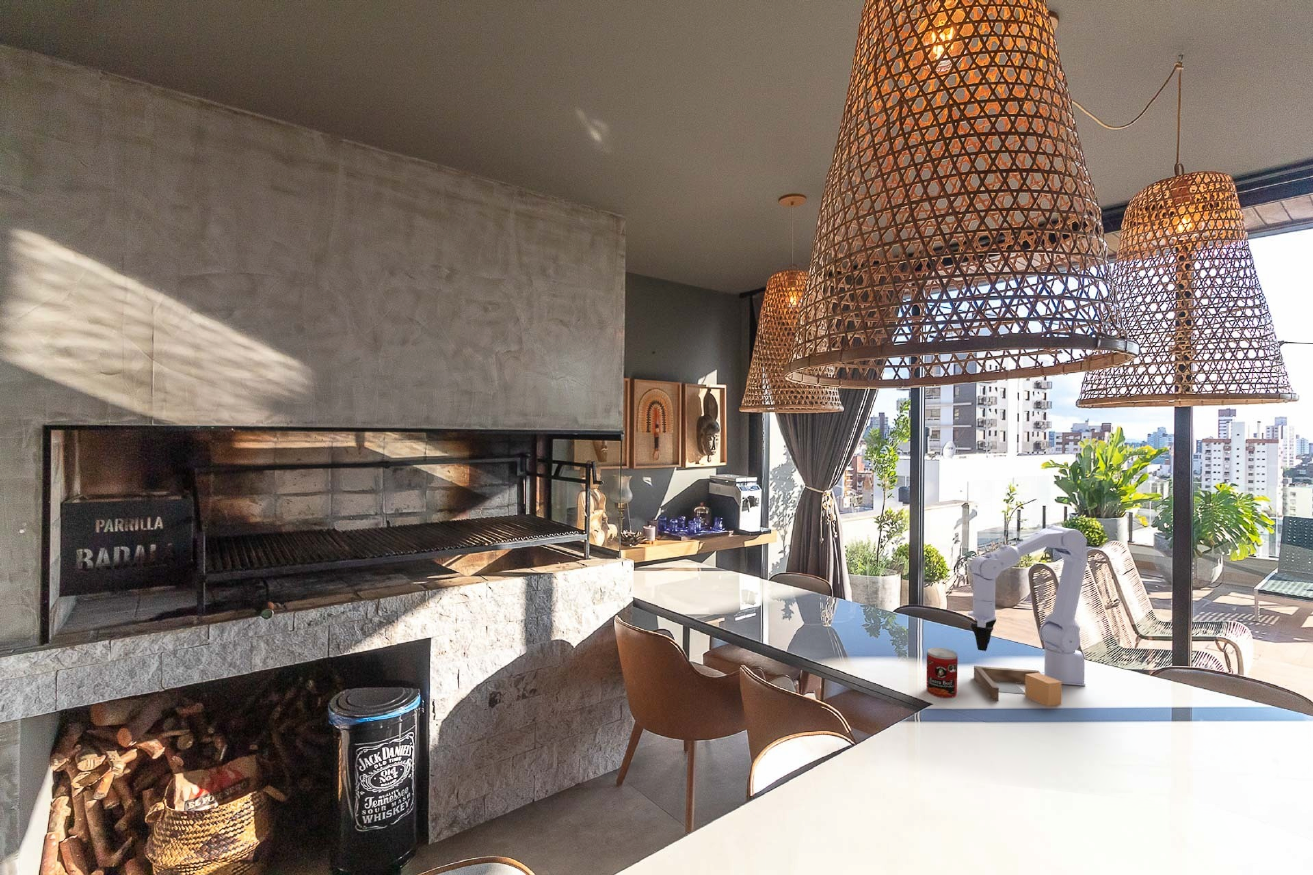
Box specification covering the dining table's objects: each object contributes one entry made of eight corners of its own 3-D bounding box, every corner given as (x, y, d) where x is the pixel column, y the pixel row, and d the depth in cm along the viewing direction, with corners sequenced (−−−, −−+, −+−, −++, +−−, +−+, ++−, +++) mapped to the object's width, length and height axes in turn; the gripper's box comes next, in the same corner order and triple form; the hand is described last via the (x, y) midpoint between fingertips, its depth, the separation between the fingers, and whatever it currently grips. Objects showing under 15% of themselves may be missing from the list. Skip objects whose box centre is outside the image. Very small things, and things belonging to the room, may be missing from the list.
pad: (1015, 682, 187) (1015, 682, 187) (1025, 694, 179) (1025, 693, 179) (981, 680, 189) (981, 680, 189) (991, 691, 180) (991, 690, 180)
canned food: (924, 694, 177) (925, 653, 177) (927, 685, 184) (928, 645, 184) (956, 700, 174) (956, 658, 174) (957, 690, 181) (958, 650, 181)
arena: (1037, 682, 188) (1037, 670, 188) (1062, 706, 171) (1063, 692, 171) (973, 677, 191) (974, 665, 191) (992, 700, 174) (992, 687, 174)
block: (1037, 694, 179) (1038, 672, 179) (1061, 704, 172) (1061, 681, 172) (1025, 696, 177) (1025, 674, 177) (1048, 706, 171) (1048, 683, 171)
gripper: (971, 592, 197) (971, 637, 197) (965, 602, 184) (965, 650, 184) (998, 595, 193) (997, 641, 193) (993, 606, 181) (993, 655, 181)
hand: (983, 646), depth 189 cm, fingers open, 7 cm apart
